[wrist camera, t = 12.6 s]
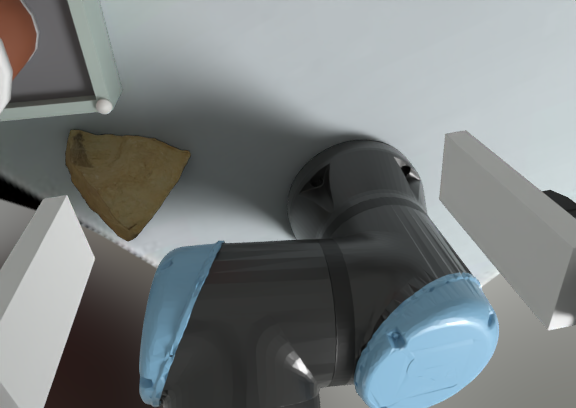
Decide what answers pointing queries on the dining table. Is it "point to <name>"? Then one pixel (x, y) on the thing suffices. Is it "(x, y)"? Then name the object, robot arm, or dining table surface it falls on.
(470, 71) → the dining table surface
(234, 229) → the dining table surface
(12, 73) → the coffee cup
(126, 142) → the rock
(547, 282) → the robot arm
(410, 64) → the dining table surface
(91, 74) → the pale green square tray
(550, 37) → the dining table surface
